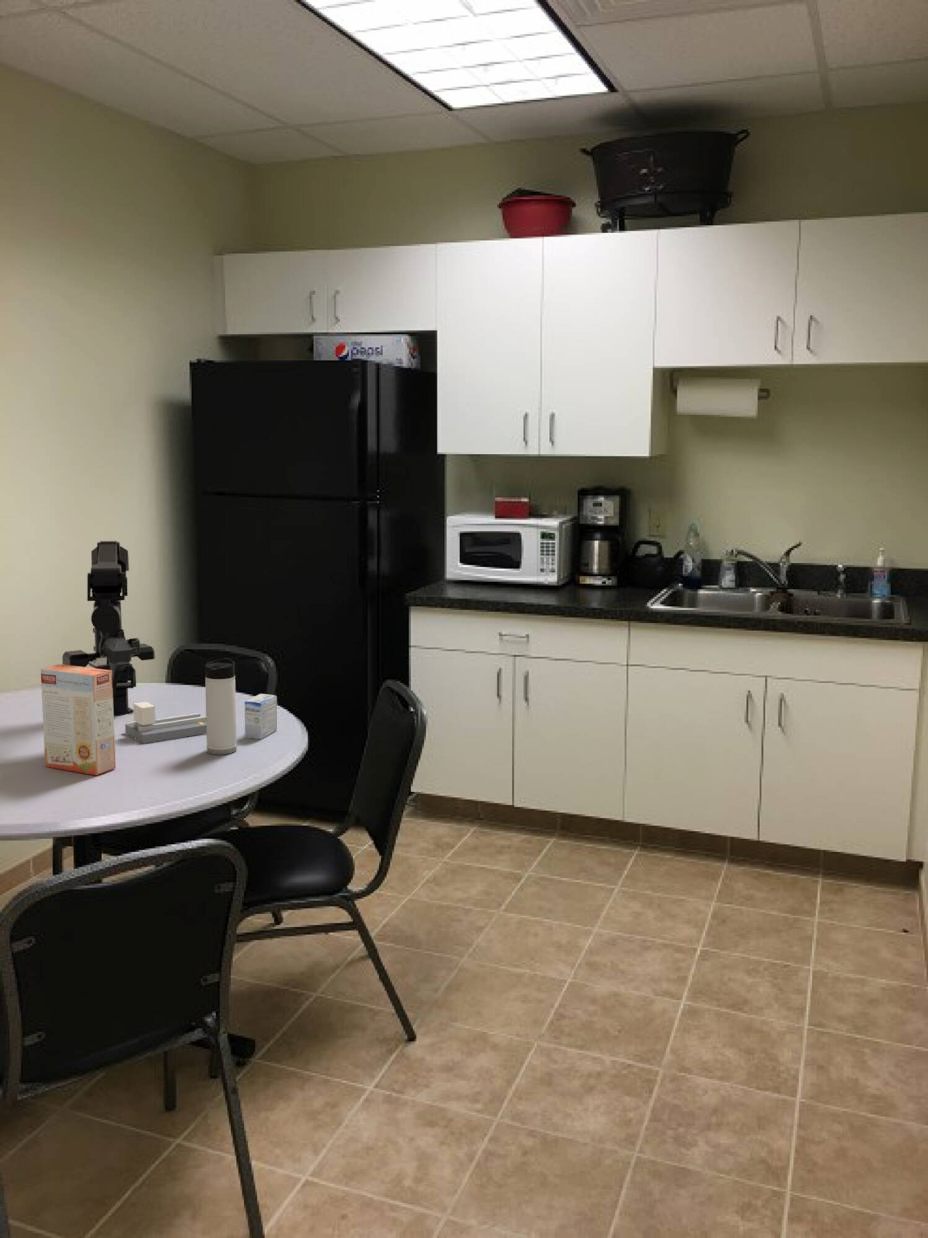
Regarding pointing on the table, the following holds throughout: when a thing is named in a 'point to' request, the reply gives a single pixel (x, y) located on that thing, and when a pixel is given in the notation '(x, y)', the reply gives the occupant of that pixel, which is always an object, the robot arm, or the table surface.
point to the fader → (144, 713)
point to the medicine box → (260, 716)
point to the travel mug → (220, 706)
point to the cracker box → (78, 718)
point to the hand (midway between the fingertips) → (110, 693)
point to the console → (168, 728)
